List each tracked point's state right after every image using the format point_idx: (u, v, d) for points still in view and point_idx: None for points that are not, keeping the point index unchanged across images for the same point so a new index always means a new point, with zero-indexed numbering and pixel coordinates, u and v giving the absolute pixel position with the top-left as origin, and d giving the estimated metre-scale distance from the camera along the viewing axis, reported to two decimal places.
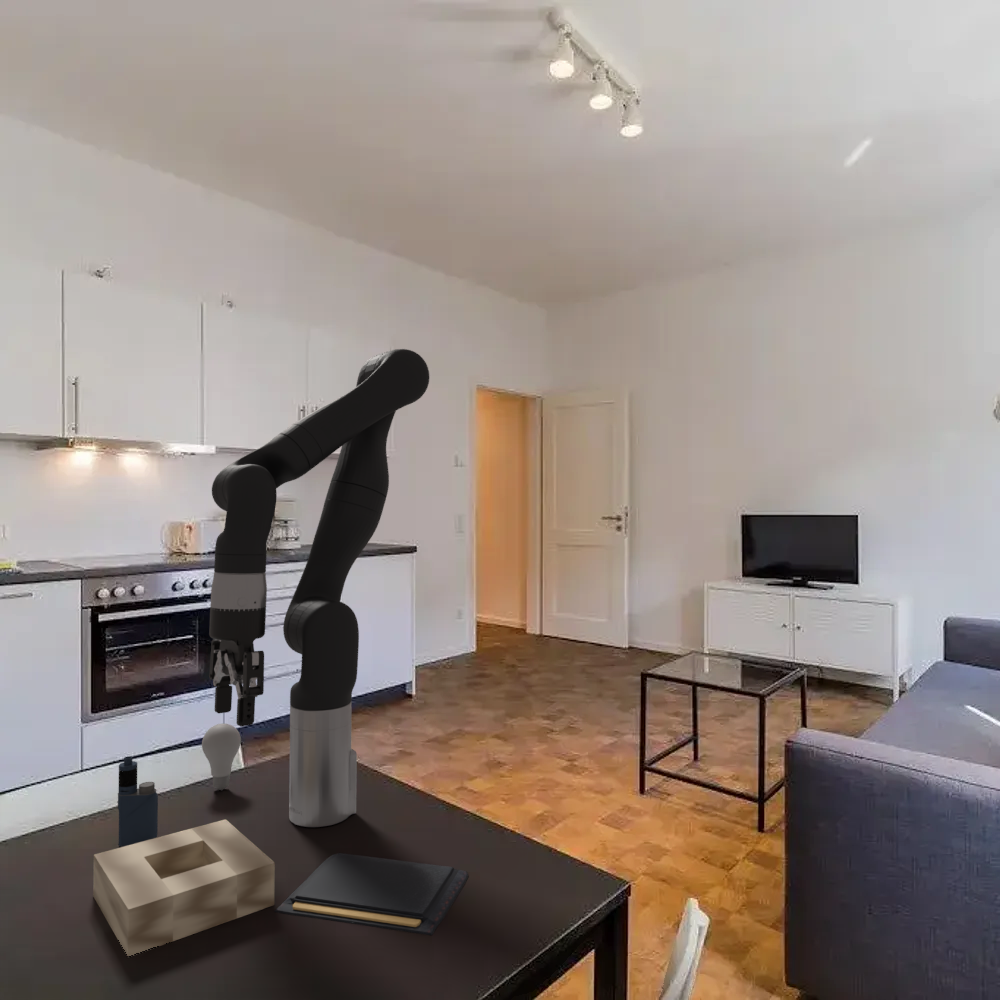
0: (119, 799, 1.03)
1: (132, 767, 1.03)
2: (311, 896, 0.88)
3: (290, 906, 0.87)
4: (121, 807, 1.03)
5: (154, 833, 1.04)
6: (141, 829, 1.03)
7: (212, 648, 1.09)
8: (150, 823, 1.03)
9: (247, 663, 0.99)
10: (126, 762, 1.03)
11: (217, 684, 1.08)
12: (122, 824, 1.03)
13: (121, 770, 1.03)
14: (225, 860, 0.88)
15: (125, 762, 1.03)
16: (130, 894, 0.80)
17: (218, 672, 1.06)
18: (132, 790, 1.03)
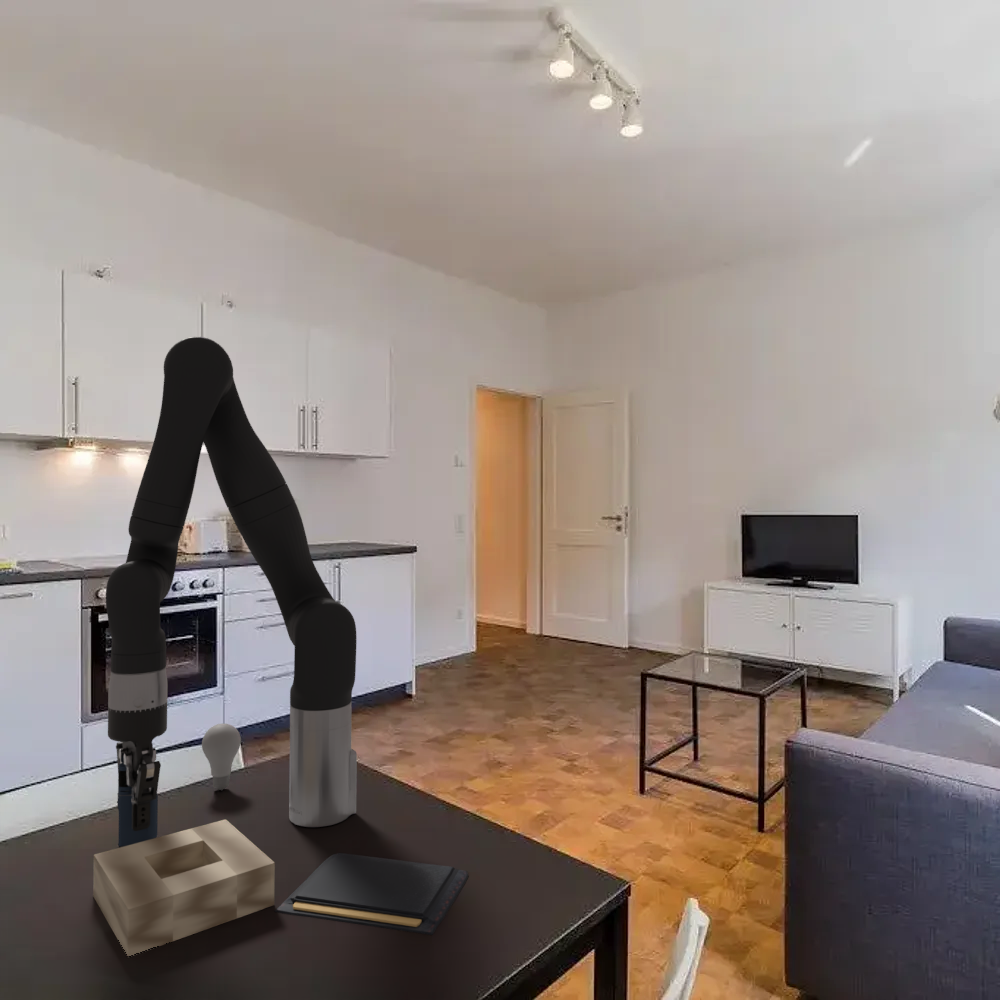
0: (119, 799, 1.03)
1: None
2: (311, 896, 0.88)
3: (290, 906, 0.87)
4: (121, 807, 1.03)
5: (154, 833, 1.04)
6: None
7: (117, 751, 1.08)
8: (150, 823, 1.03)
9: (141, 777, 0.99)
10: None
11: None
12: (122, 824, 1.03)
13: (121, 770, 1.03)
14: (225, 860, 0.88)
15: None
16: (130, 894, 0.80)
17: None
18: None
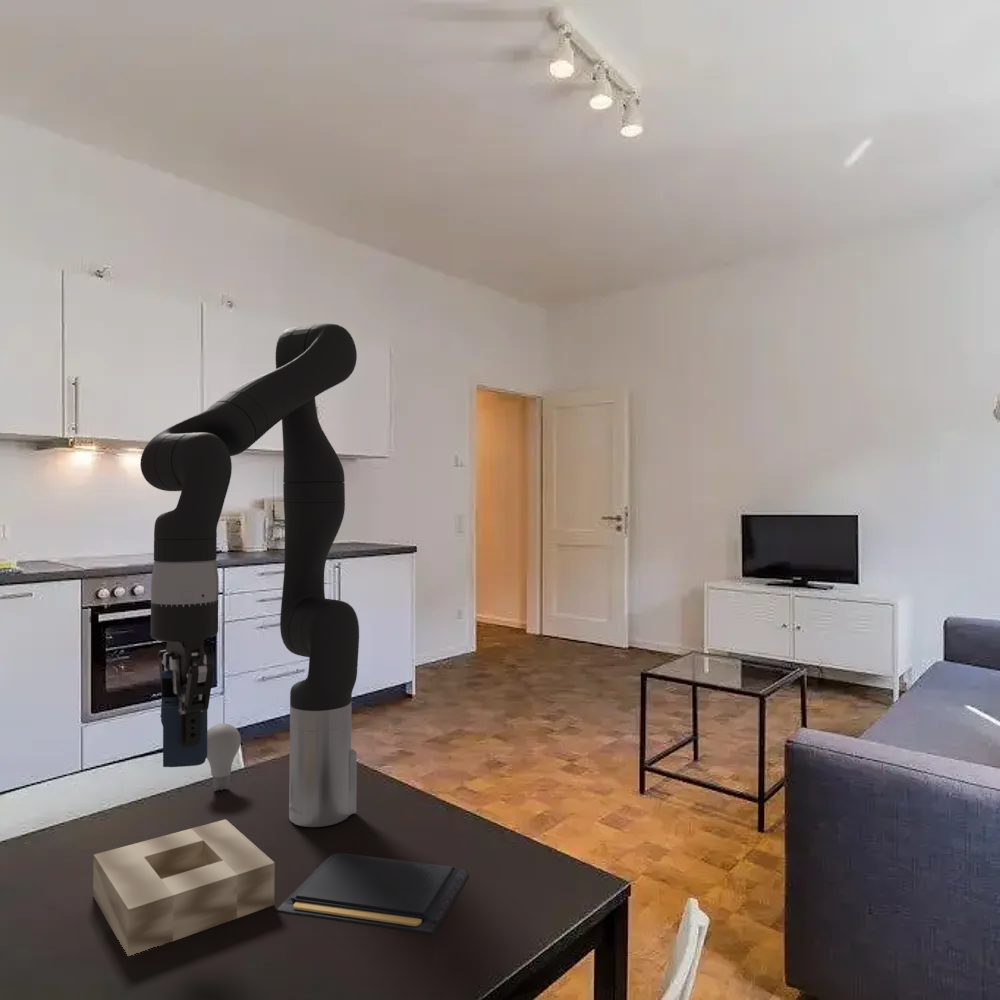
0: (163, 712, 0.88)
1: None
2: (312, 896, 0.88)
3: (291, 906, 0.87)
4: (166, 721, 0.88)
5: (205, 751, 0.89)
6: (190, 746, 0.88)
7: (160, 661, 0.93)
8: (200, 739, 0.88)
9: (191, 680, 0.84)
10: None
11: None
12: (167, 741, 0.87)
13: (165, 678, 0.88)
14: (225, 860, 0.88)
15: (169, 669, 0.88)
16: (130, 894, 0.80)
17: None
18: None
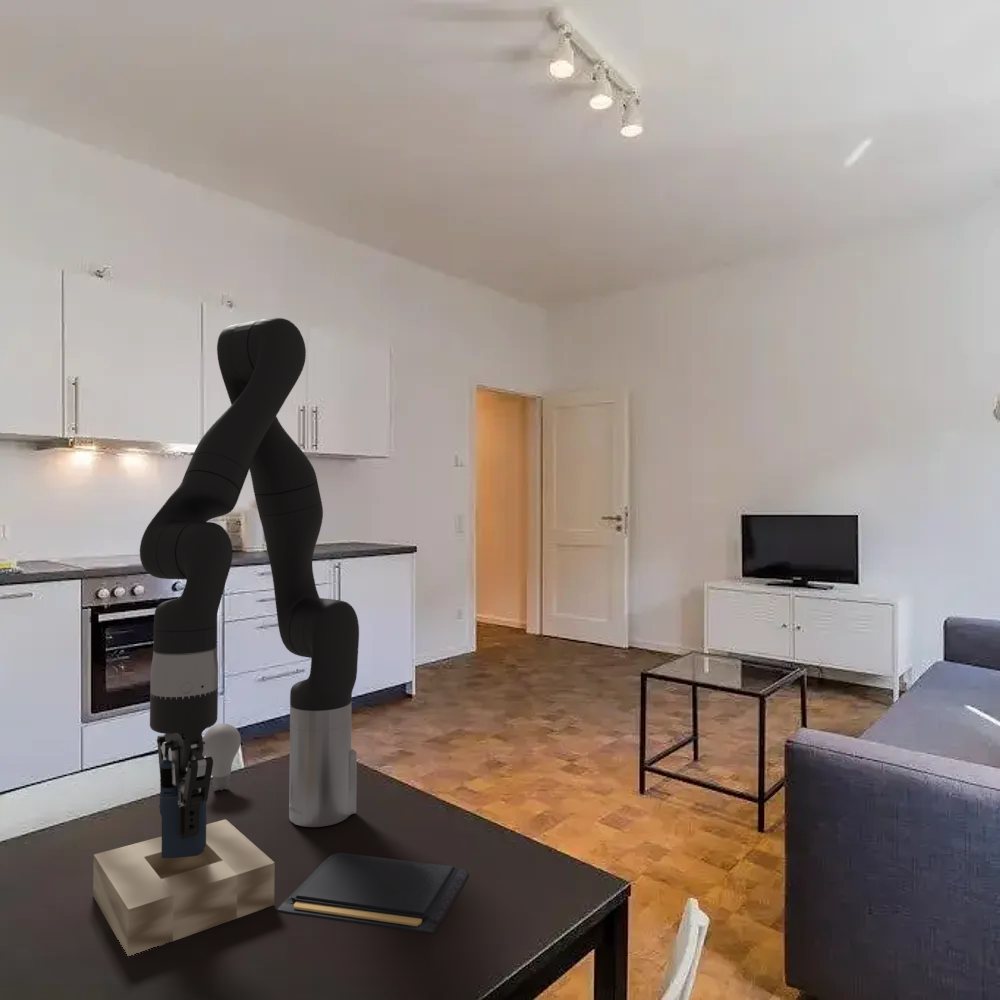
0: (162, 802, 0.87)
1: None
2: (312, 896, 0.88)
3: (291, 906, 0.87)
4: (164, 812, 0.87)
5: (203, 841, 0.89)
6: (189, 837, 0.88)
7: (159, 746, 0.93)
8: (199, 829, 0.88)
9: (191, 775, 0.83)
10: None
11: None
12: (166, 832, 0.87)
13: (164, 768, 0.88)
14: (225, 860, 0.88)
15: (168, 759, 0.88)
16: (130, 894, 0.80)
17: None
18: None
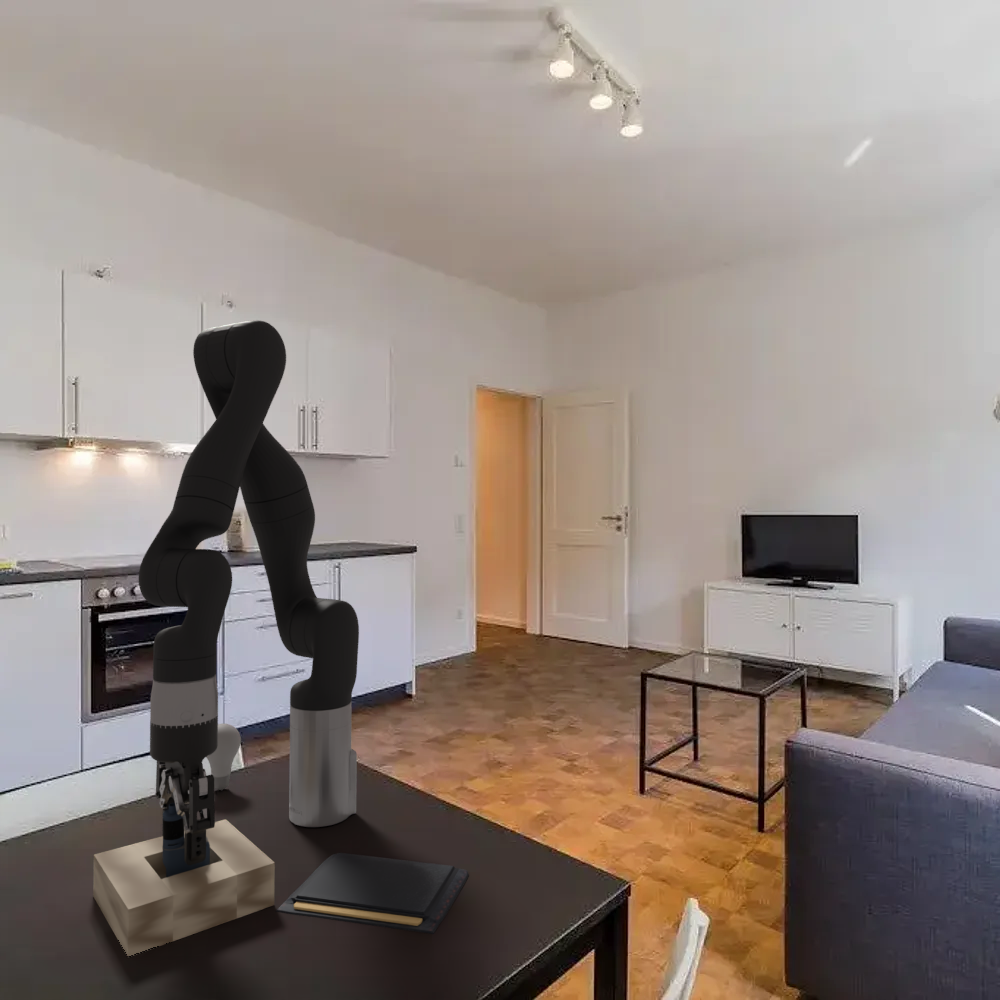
0: (166, 854, 0.86)
1: (181, 816, 0.87)
2: (312, 895, 0.88)
3: (291, 906, 0.87)
4: (169, 863, 0.87)
5: None
6: None
7: (158, 762, 0.93)
8: None
9: (193, 793, 0.83)
10: (173, 810, 0.87)
11: (164, 806, 0.91)
12: None
13: (168, 821, 0.86)
14: (225, 860, 0.88)
15: (171, 811, 0.87)
16: (130, 894, 0.80)
17: (164, 793, 0.90)
18: (181, 842, 0.87)
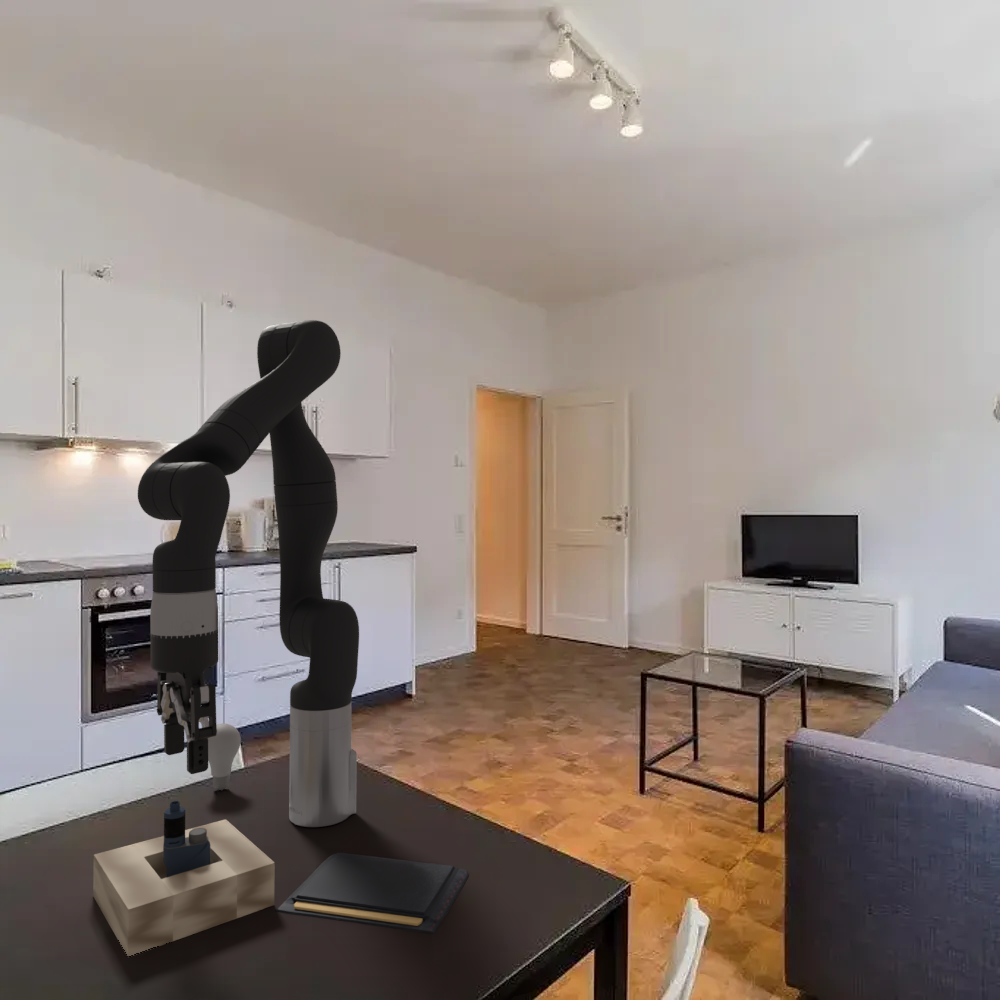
0: (167, 853, 0.87)
1: (182, 814, 0.88)
2: (312, 895, 0.88)
3: (291, 905, 0.87)
4: (170, 862, 0.87)
5: None
6: None
7: (159, 679, 0.93)
8: None
9: (195, 700, 0.83)
10: (174, 808, 0.88)
11: (166, 721, 0.91)
12: None
13: (170, 818, 0.87)
14: (225, 860, 0.88)
15: (173, 808, 0.88)
16: (130, 894, 0.80)
17: (165, 708, 0.90)
18: (182, 840, 0.88)
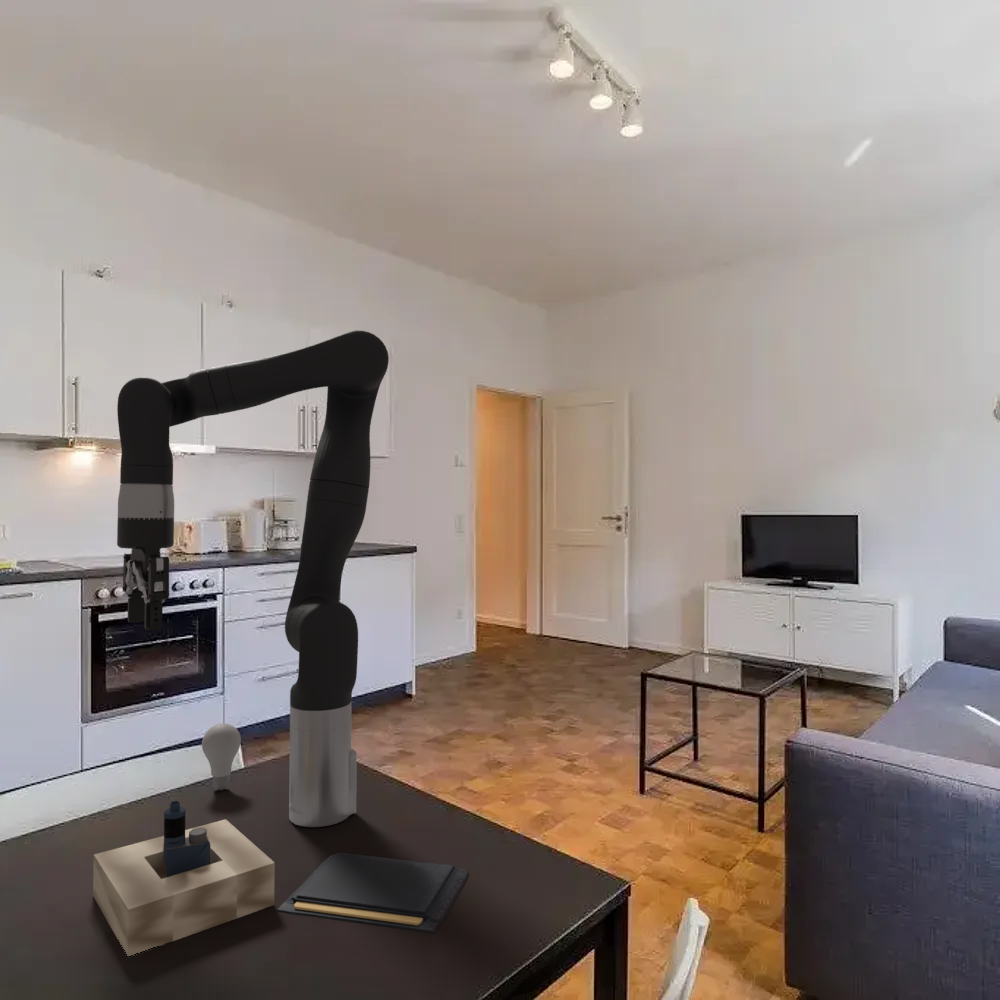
0: (167, 853, 0.87)
1: (182, 814, 0.88)
2: (312, 895, 0.88)
3: (291, 906, 0.87)
4: (170, 862, 0.87)
5: None
6: None
7: (124, 561, 1.12)
8: None
9: (151, 567, 1.03)
10: (174, 808, 0.88)
11: (129, 595, 1.11)
12: None
13: (170, 818, 0.87)
14: (225, 860, 0.88)
15: (173, 808, 0.88)
16: (130, 894, 0.80)
17: (129, 582, 1.09)
18: (182, 840, 0.88)
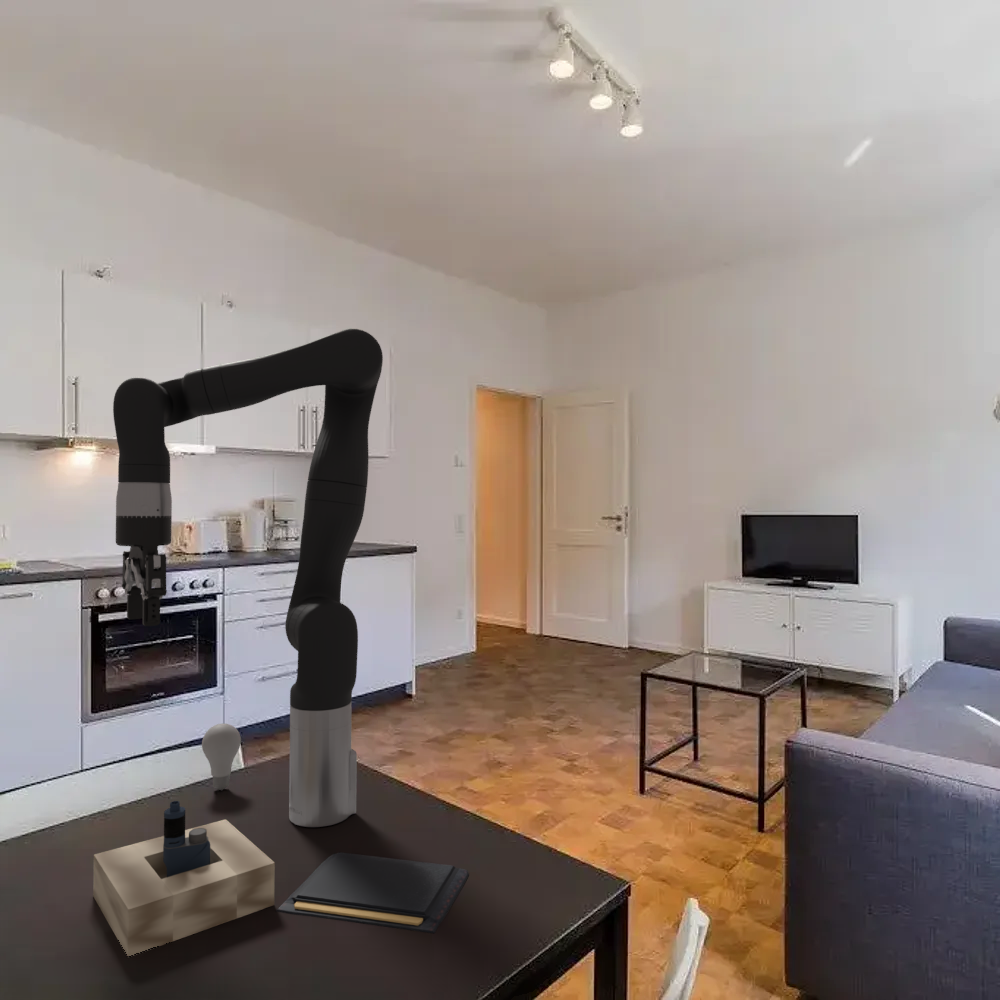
0: (167, 853, 0.87)
1: (182, 814, 0.88)
2: (312, 895, 0.88)
3: (292, 905, 0.87)
4: (170, 862, 0.87)
5: None
6: None
7: (124, 559, 1.14)
8: None
9: (148, 565, 1.04)
10: (174, 808, 0.88)
11: (128, 592, 1.13)
12: None
13: (170, 818, 0.87)
14: (225, 860, 0.88)
15: (173, 808, 0.88)
16: (130, 894, 0.80)
17: (128, 579, 1.11)
18: (182, 840, 0.88)
